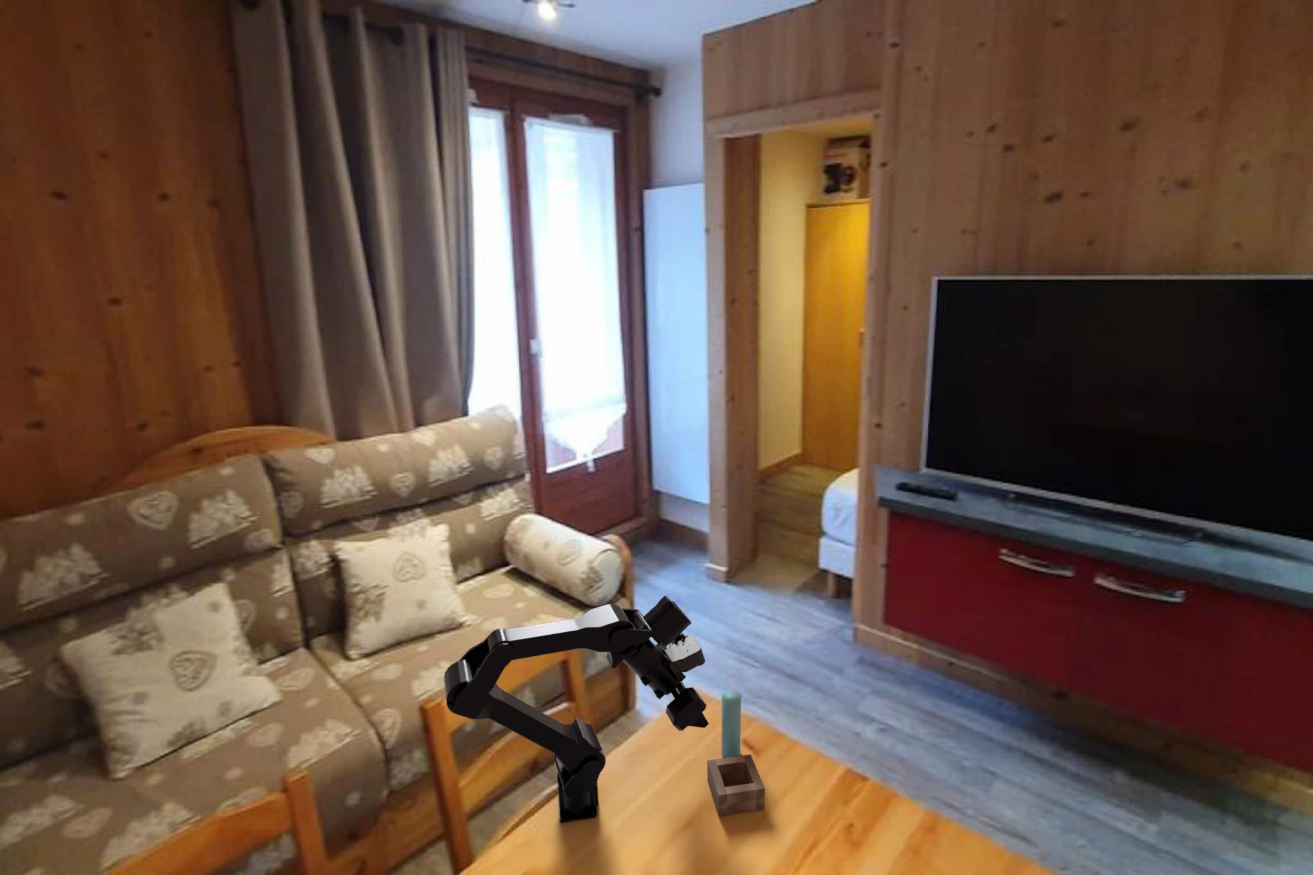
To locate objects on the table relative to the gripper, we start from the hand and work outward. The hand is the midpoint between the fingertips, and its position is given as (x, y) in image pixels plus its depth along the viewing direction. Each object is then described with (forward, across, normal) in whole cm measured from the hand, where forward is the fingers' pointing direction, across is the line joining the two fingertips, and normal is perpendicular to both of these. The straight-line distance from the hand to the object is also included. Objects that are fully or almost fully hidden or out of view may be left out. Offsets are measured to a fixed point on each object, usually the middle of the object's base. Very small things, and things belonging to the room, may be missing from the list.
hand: (696, 709), depth 123 cm
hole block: (+13, -8, +5) cm, 16 cm away
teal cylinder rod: (+15, +1, +2) cm, 15 cm away
